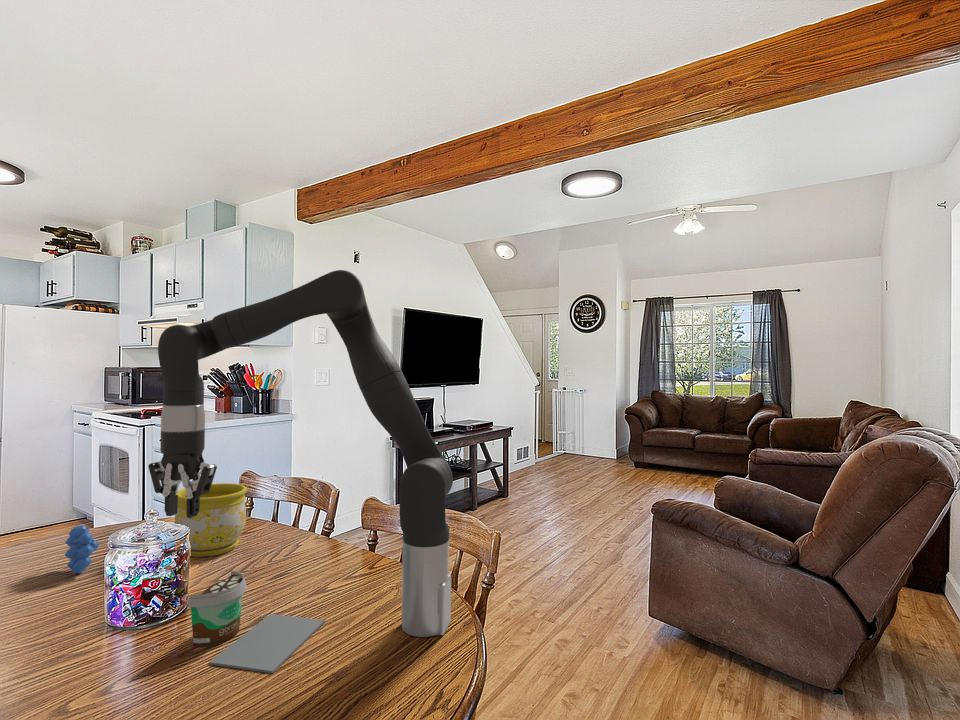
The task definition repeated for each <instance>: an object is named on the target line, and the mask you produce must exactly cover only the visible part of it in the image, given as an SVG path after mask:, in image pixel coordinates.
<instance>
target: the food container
mask: <svg viewBox="0 0 960 720" xmlns="http://www.w3.org/2000/svg"><path fill="white" fill-rule="evenodd" d="M247 588H248V587H247V582H246V579H245V577H244V574H243V573H242V572H239V571H235V570H231V571H230V575H229V576H228V577H227V578H225V579H223V580H221V581H218V582H216V583H212V585H210V586H209V587H208V588H207V589H205V590H204V591H202V592H201V593H199V594H193V593H191V594H190V597H189V599H188V605H187V607H188V608H190V613H191V614H190V615H191V629H192V632H191V633H192V646H193V648H206V647H213V646H218V645H221V644H224V643H226V642H228V641H231V640H233V638H235V637H236V636H237V635H238V634H239V632H240V626H241V624H240V623H241V614H242V604H243V603H242V602H243V597H244V595H243V594H245V592H246V591H247Z"/></svg>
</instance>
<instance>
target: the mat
mask: <svg viewBox="0 0 960 720" xmlns="http://www.w3.org/2000/svg"><path fill="white" fill-rule="evenodd" d="M325 623H326V620H325V619H324V620H323V619H318V618H308V617H300V616H292V615H285V614H284V615H283V614H275V613H270V614H268V615H267V616H266V617H265V618H264V619H262V620H261V621H260V622H258V623H257V624H256V625H254V626H253V627H252V628H251V629H249V630H248V631H247V632H245V634H243V635H242V636H240V637H239V638H237V640H236V641H234V642H233V643H231V644H230V645H229V646H228V647H227V648H225V649H224V650H223V651H221V652H220V653H219V654H217V655H216V656H215V657H214V658H212V659H211V660H210V661H209V662H208V663H209V665H211V666H219V667H226V668H232V669H239V670H245V671H252V672H259V673H267V674H274V673H275V672H276V671H278V669H280V667H281V666H282V665H283V664H284V663H286V661H287V660H288V659H290V657H291V656H293V655H294V654H295V652H296V651H297V650H298V649H300V647H301V646H302V645H304V644H305V643H306V641H307V640H309V638H311V637H312V636H313V635H314V634H315V632H317V630H319V629H320V628H321V626H323V625H324V624H325Z"/></svg>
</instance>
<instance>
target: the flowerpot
mask: <svg viewBox="0 0 960 720" xmlns="http://www.w3.org/2000/svg"><path fill="white" fill-rule="evenodd" d="M193 491H194V488H193ZM247 491H248V488H247V486H245V485H244V484H240V483H228V482H224V483H223V482H222V483H221V482H220V483H212V485H211V488H210V491H209V492H208V493H206V494H203V495H201V496H200V505H199V506H200V507H199V508H200V510H199V513H198V514H197V516H194V517H192V518H188V517H187V516H186V511H187V499H188V497H187V493H186V488H185V487H184V488H182V489H178V491H177V493H176V495H178V512H177V514H175V515H174V523H175V524H181V525H185V526H187V527H189V529H190V534H189V541H190V545H191V556H190V557H192V558H193V557H194V558H205V556H209V557H214V555H215V556H219V554H220V555H223V554H226V553H228V552H231V551H232V550H234V549H235V548H236V545H238V544H239V542H240V539H239V537H240V536H241V534H242V532H243V531H244V528H245V526H246V521H247V508H246V507H247V506H246V496H245V494H246V493H247ZM174 523H173V524H174ZM203 556H204V557H203Z"/></svg>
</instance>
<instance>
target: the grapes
mask: <svg viewBox="0 0 960 720" xmlns="http://www.w3.org/2000/svg"><path fill="white" fill-rule="evenodd" d="M90 531H91V529H90V528H89V527H87V525H85V524H84V525H83V524H81V525H76V526H74V527H73V528H71V530H70V532H68V535H69V537H68V538H67V539H66V541H65V544H66V545H67V546H68V547H69V548H68V550H66V552H65V554H64V556H65V557H66V558H68V560H69V562H68V563H67V564H66V565H67V567H68V568H69V569H71V571H72V572H74V573H75V574H78V575H79V574H82V573H83V572H84V571H86V569H87V568H88V567H89V566H90V565H91V563H92V562H93V559H92V558H90V556H91V555H92V554H93V553H94V552H95V551H96V550H97V549H98V548H99V546H100V545H101V544H100V542H99V541H97V540H95V539H94V536H93V535H92V534H91V533H90Z"/></svg>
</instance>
